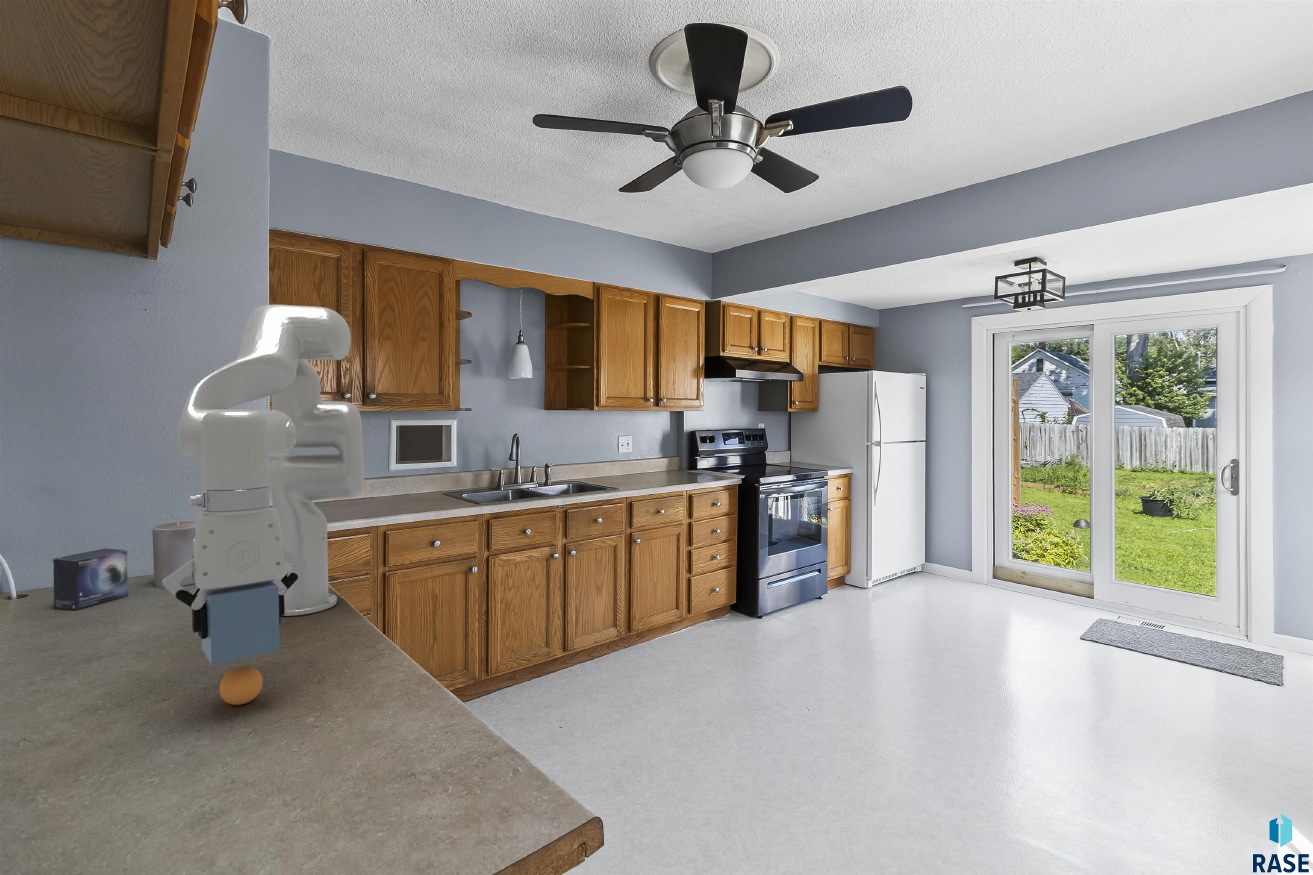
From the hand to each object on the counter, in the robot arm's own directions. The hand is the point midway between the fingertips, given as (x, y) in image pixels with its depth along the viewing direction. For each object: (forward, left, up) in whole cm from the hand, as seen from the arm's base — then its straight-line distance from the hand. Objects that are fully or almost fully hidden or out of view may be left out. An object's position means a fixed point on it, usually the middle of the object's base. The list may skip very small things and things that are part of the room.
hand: (240, 628), depth 86 cm
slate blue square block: (0, 0, -3) cm, 3 cm away
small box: (-66, -41, -11) cm, 79 cm away
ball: (-1, 0, -8) cm, 8 cm away
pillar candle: (-78, -29, -11) cm, 84 cm away
